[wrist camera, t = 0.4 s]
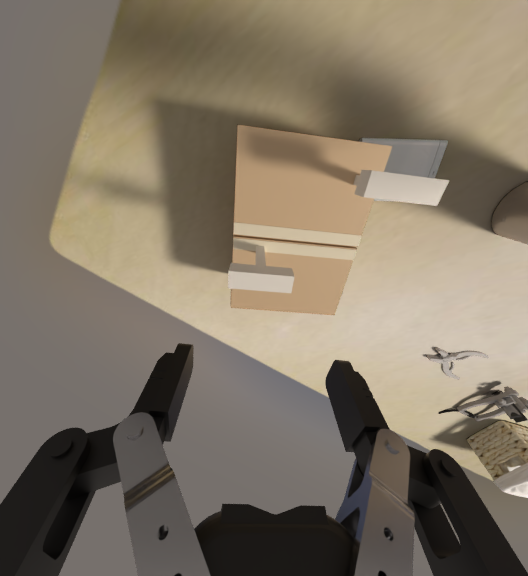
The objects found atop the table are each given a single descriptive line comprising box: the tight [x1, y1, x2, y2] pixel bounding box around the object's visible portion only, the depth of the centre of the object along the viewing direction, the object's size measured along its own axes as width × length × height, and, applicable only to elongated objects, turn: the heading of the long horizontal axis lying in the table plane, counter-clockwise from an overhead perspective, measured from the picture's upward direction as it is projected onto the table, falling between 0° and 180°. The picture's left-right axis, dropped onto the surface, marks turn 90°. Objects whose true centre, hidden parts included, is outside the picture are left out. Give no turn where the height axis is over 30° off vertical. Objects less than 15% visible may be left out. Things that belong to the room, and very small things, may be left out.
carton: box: [230, 124, 450, 306], centre depth 28 cm, size 16×22×19 cm
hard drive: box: [359, 138, 448, 201], centre depth 33 cm, size 2×8×12 cm
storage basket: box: [467, 421, 528, 498], centre depth 69 cm, size 24×16×15 cm
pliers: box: [427, 347, 489, 379], centre depth 54 cm, size 10×2×15 cm
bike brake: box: [439, 387, 528, 423], centre depth 63 cm, size 14×7×20 cm
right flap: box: [228, 235, 357, 315], centre depth 26 cm, size 16×11×9 cm
